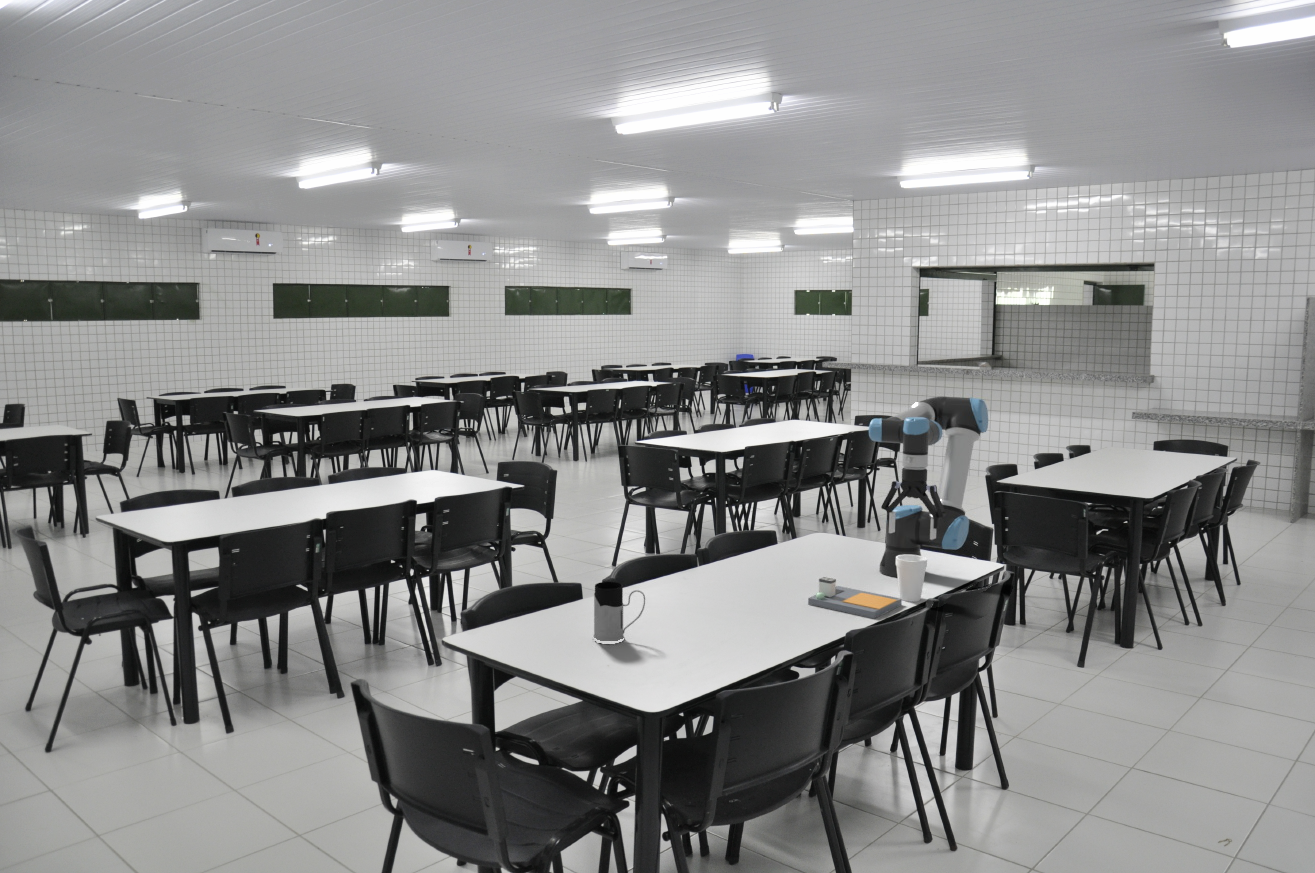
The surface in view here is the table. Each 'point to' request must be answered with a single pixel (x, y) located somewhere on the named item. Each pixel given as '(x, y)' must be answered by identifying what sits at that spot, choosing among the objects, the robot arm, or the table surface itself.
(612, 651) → the table surface
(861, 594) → the grey flat block
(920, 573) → the foam cup
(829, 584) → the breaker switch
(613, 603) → the glass holder
